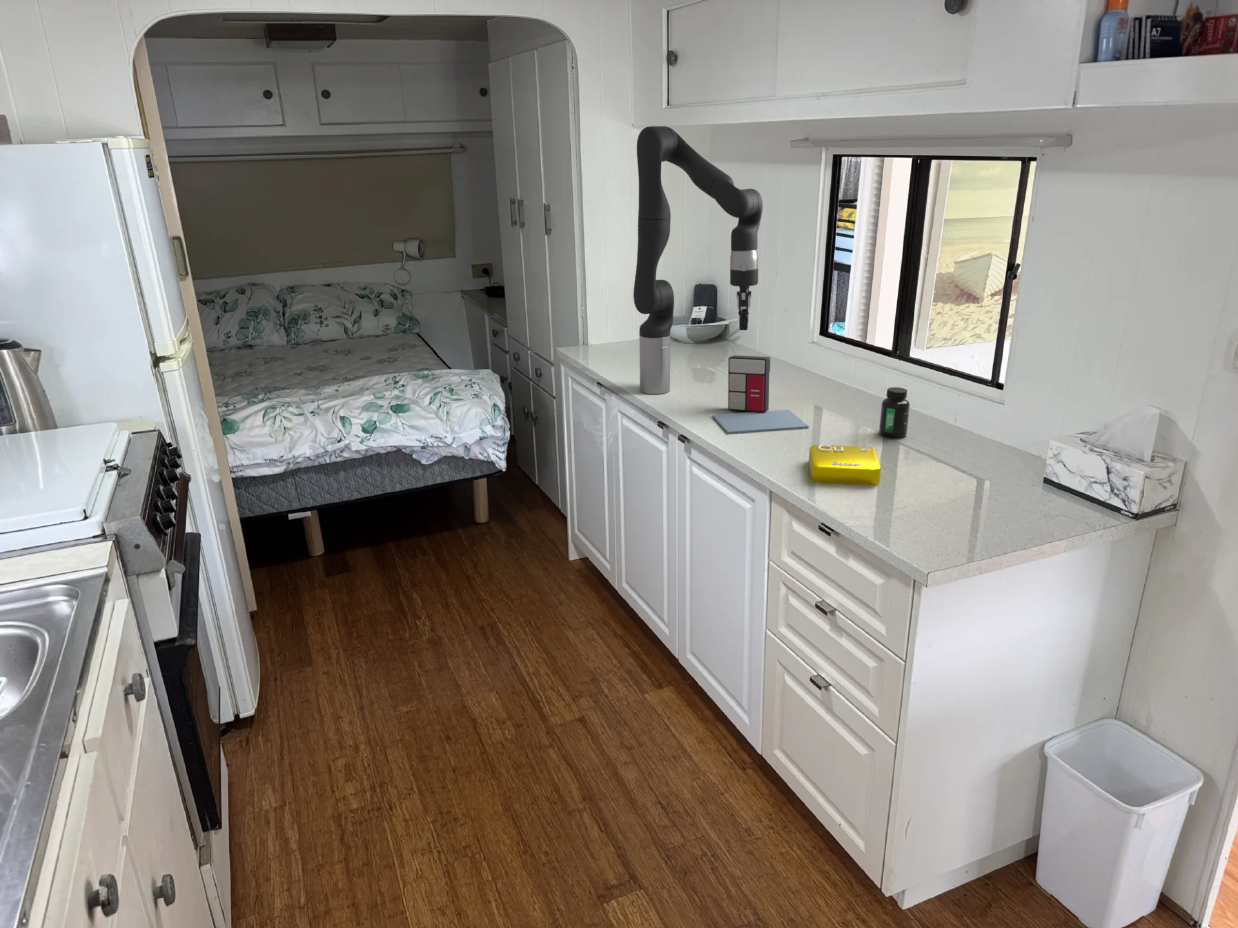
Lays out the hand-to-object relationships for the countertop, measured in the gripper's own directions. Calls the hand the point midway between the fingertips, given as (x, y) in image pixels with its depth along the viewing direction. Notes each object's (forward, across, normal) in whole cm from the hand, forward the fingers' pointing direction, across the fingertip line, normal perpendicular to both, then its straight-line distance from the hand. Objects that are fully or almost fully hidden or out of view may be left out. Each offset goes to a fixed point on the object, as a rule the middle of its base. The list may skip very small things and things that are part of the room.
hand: (743, 327), depth 236 cm
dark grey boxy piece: (+23, +3, +1) cm, 23 cm away
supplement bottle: (+25, +19, +38) cm, 50 cm away
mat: (+24, +13, +4) cm, 27 cm away
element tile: (+25, +47, +24) cm, 59 cm away
